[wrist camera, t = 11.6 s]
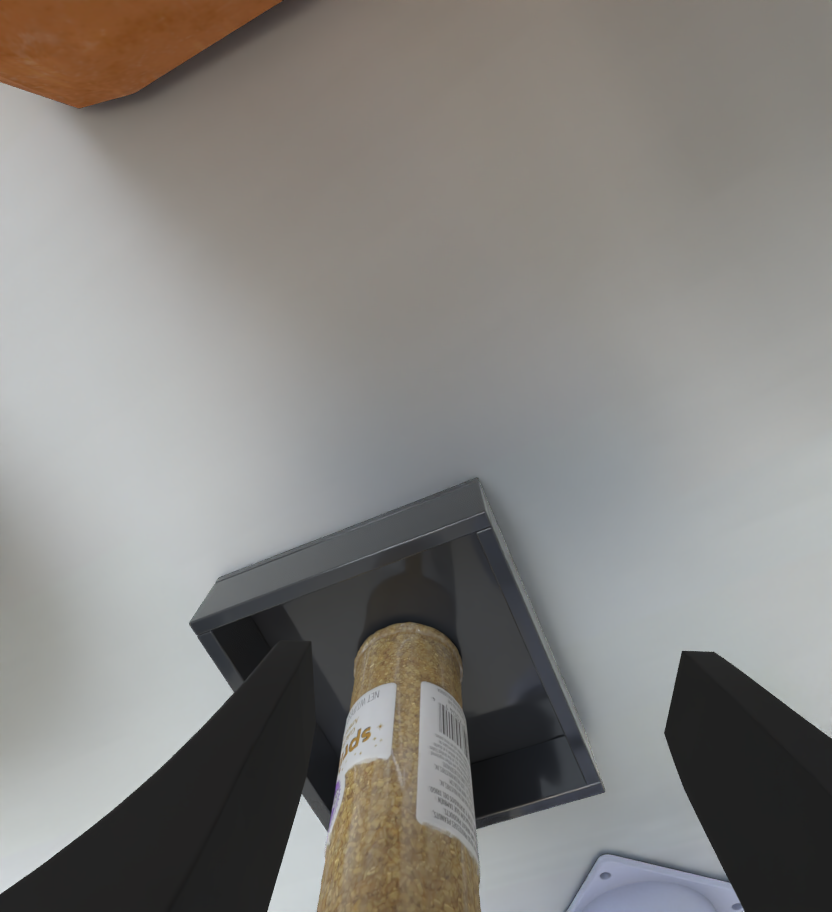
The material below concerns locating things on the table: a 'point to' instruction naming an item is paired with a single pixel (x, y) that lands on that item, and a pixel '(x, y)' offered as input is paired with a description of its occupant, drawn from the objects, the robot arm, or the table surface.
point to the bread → (108, 42)
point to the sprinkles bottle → (403, 783)
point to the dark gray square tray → (428, 603)
